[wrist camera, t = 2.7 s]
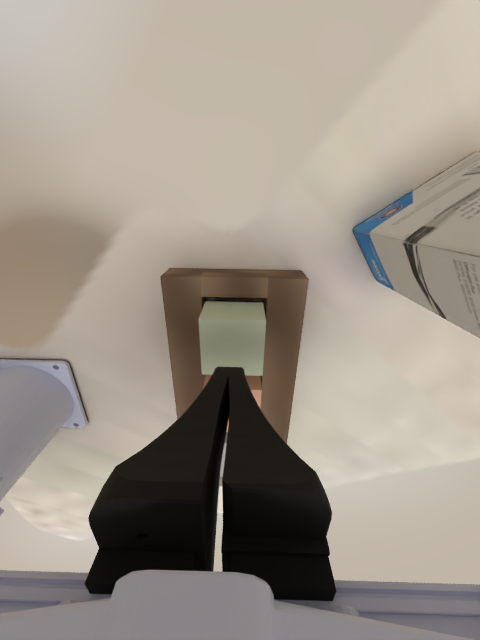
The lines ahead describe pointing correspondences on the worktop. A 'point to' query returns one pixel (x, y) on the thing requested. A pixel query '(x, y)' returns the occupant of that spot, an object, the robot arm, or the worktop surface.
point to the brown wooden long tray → (280, 337)
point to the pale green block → (232, 336)
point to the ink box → (432, 245)
